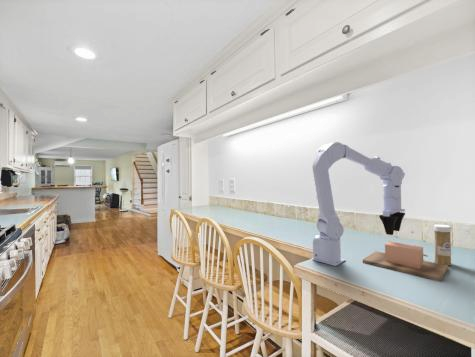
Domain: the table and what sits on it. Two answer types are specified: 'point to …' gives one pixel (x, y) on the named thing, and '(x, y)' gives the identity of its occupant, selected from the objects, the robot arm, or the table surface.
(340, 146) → the robot arm
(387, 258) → the block
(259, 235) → the table surface
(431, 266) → the stub board
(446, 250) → the sprinkles bottle
